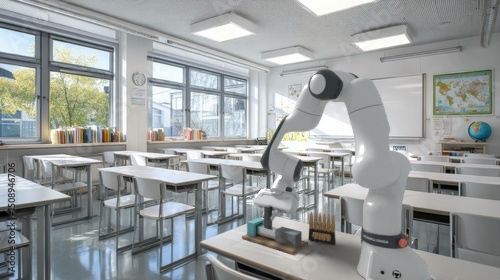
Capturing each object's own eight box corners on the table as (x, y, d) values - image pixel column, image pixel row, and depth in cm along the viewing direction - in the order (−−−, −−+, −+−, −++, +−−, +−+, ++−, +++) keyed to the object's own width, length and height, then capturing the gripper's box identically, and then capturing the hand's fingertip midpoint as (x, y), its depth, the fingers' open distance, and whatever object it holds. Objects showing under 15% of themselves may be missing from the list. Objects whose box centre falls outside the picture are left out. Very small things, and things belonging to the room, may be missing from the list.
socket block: (264, 232, 128) (264, 219, 127) (253, 237, 122) (253, 223, 122) (257, 230, 130) (257, 217, 130) (247, 235, 124) (247, 221, 124)
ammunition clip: (335, 243, 118) (336, 214, 117) (334, 245, 116) (335, 215, 116) (309, 239, 123) (309, 210, 122) (308, 240, 121) (308, 211, 120)
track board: (308, 244, 117) (308, 229, 116) (292, 254, 107) (292, 238, 107) (259, 230, 132) (259, 217, 132) (241, 238, 123) (241, 224, 123)
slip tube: (290, 239, 117) (290, 209, 116) (285, 242, 114) (285, 211, 114) (262, 232, 126) (262, 203, 125) (257, 234, 123) (257, 205, 123)
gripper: (258, 183, 133) (244, 209, 126) (298, 190, 120) (285, 219, 113) (264, 192, 136) (251, 217, 129) (303, 198, 123) (291, 227, 116)
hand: (267, 218), depth 121 cm, fingers closed on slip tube, 2 cm apart
